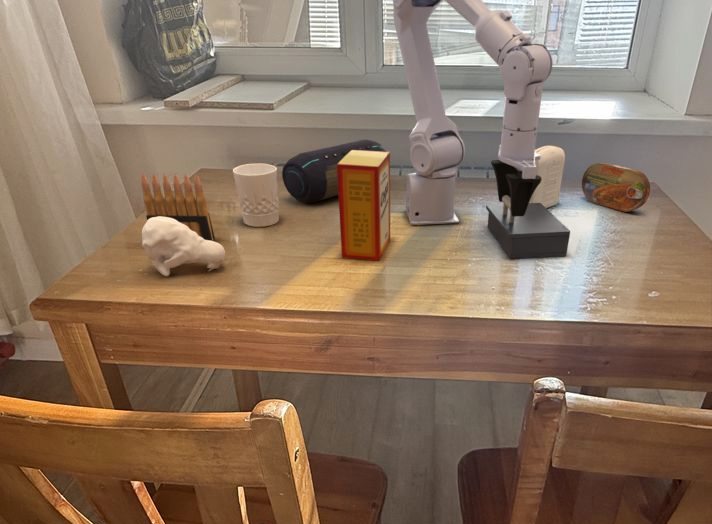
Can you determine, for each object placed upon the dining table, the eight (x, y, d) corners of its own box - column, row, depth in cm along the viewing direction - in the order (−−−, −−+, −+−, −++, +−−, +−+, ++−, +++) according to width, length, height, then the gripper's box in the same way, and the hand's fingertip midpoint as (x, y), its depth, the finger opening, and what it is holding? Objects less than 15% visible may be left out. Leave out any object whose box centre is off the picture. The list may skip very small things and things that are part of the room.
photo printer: (544, 199, 127) (552, 140, 120) (560, 204, 124) (570, 144, 118) (515, 209, 121) (522, 148, 114) (532, 215, 118) (540, 153, 112)
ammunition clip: (215, 239, 104) (203, 172, 97) (212, 243, 102) (199, 175, 96) (155, 239, 104) (138, 171, 97) (151, 243, 102) (134, 175, 96)
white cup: (232, 224, 110) (223, 171, 105) (256, 211, 117) (249, 161, 111) (267, 230, 108) (260, 177, 103) (290, 217, 114) (284, 166, 109)
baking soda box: (355, 237, 106) (351, 147, 98) (390, 239, 106) (389, 149, 97) (341, 257, 98) (336, 162, 90) (379, 260, 98) (377, 164, 89)
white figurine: (147, 209, 91) (226, 215, 92) (154, 259, 95) (229, 265, 97) (134, 224, 86) (218, 230, 87) (142, 276, 90) (222, 281, 92)
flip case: (510, 259, 99) (512, 238, 97) (487, 227, 112) (488, 208, 110) (566, 256, 101) (569, 235, 99) (537, 225, 113) (539, 206, 111)
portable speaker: (309, 211, 117) (305, 161, 112) (279, 200, 123) (274, 152, 118) (395, 185, 133) (395, 140, 128) (366, 176, 139) (364, 133, 133)
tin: (578, 198, 128) (584, 159, 123) (586, 195, 130) (593, 157, 125) (638, 217, 118) (648, 175, 114) (646, 213, 120) (656, 173, 116)
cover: (509, 238, 97) (511, 214, 95) (485, 208, 110) (487, 186, 107) (569, 235, 99) (573, 211, 96) (539, 206, 111) (542, 184, 109)
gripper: (559, 137, 90) (547, 221, 97) (528, 118, 102) (520, 194, 109) (515, 138, 89) (506, 223, 96) (490, 118, 101) (483, 195, 108)
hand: (511, 208), depth 102 cm, fingers open, 7 cm apart
